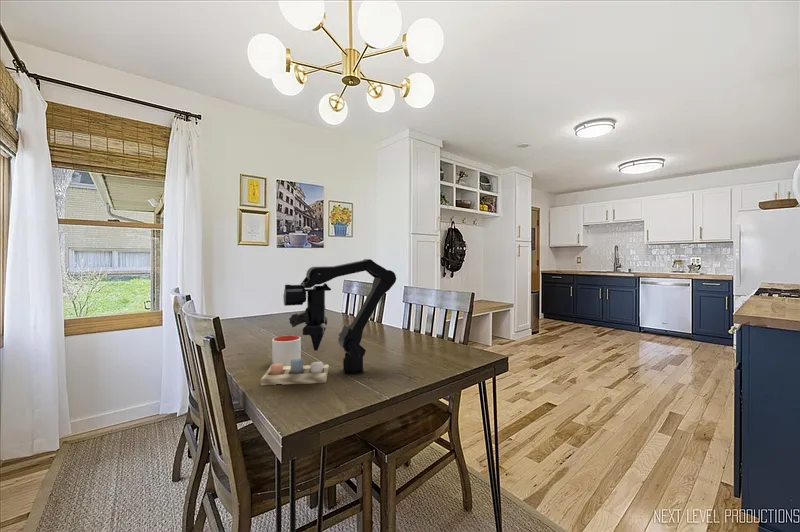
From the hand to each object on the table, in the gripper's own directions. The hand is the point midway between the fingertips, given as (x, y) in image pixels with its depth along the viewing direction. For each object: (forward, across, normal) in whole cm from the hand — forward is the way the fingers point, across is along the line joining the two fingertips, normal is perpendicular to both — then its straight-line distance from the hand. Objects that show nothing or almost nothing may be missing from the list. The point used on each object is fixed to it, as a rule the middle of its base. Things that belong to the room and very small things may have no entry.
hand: (315, 350), depth 115 cm
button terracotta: (+9, 0, -13) cm, 15 cm away
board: (+9, 0, -6) cm, 11 cm away
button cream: (+9, 0, 0) cm, 9 cm away
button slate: (+7, 0, -6) cm, 10 cm away
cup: (+9, -14, -12) cm, 21 cm away
